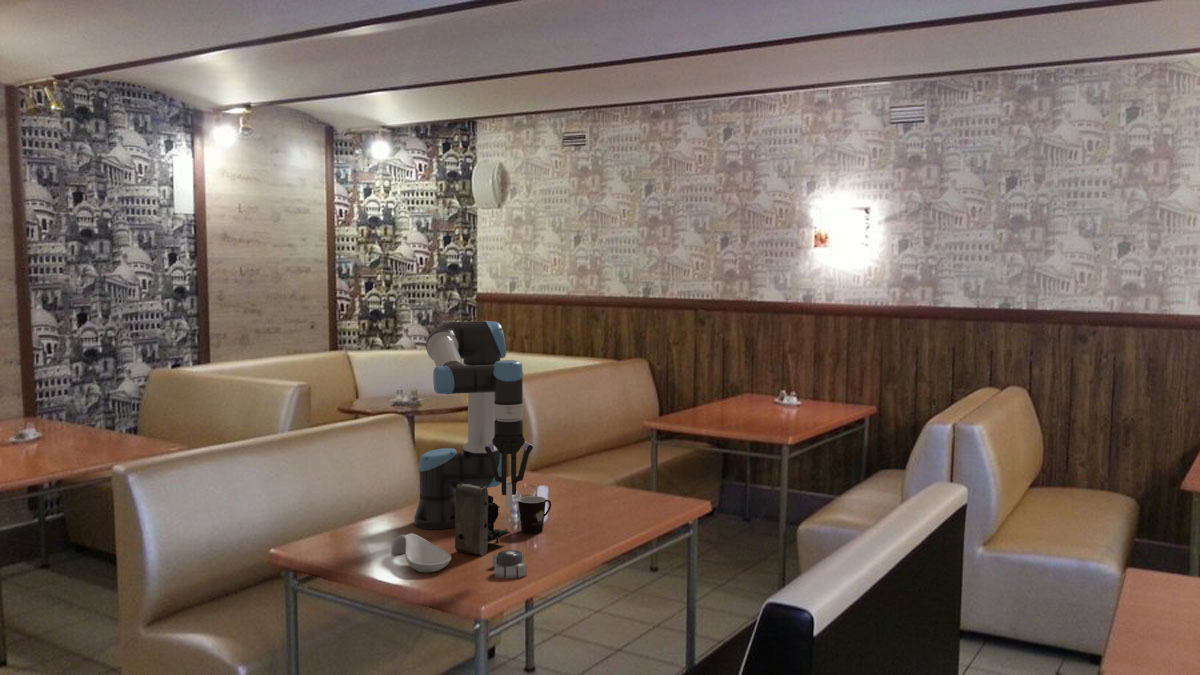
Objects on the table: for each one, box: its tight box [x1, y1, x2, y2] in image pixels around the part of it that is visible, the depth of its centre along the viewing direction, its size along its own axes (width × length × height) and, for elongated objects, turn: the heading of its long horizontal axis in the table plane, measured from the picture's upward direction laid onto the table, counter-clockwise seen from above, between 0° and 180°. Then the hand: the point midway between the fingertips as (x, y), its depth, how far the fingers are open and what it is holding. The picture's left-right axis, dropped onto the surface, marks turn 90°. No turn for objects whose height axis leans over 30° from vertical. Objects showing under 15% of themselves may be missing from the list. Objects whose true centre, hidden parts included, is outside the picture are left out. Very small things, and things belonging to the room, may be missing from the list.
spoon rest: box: [391, 532, 452, 574], centre depth 248 cm, size 24×12×7 cm, turn 40°
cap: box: [497, 549, 523, 565], centre depth 241 cm, size 6×6×5 cm
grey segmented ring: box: [492, 553, 528, 579], centre depth 242 cm, size 12×8×3 cm
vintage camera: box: [454, 483, 512, 557], centre depth 262 cm, size 10×16×20 cm, turn 150°
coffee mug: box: [517, 495, 552, 535], centre depth 280 cm, size 12×9×10 cm
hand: (508, 506), depth 241 cm, fingers closed
